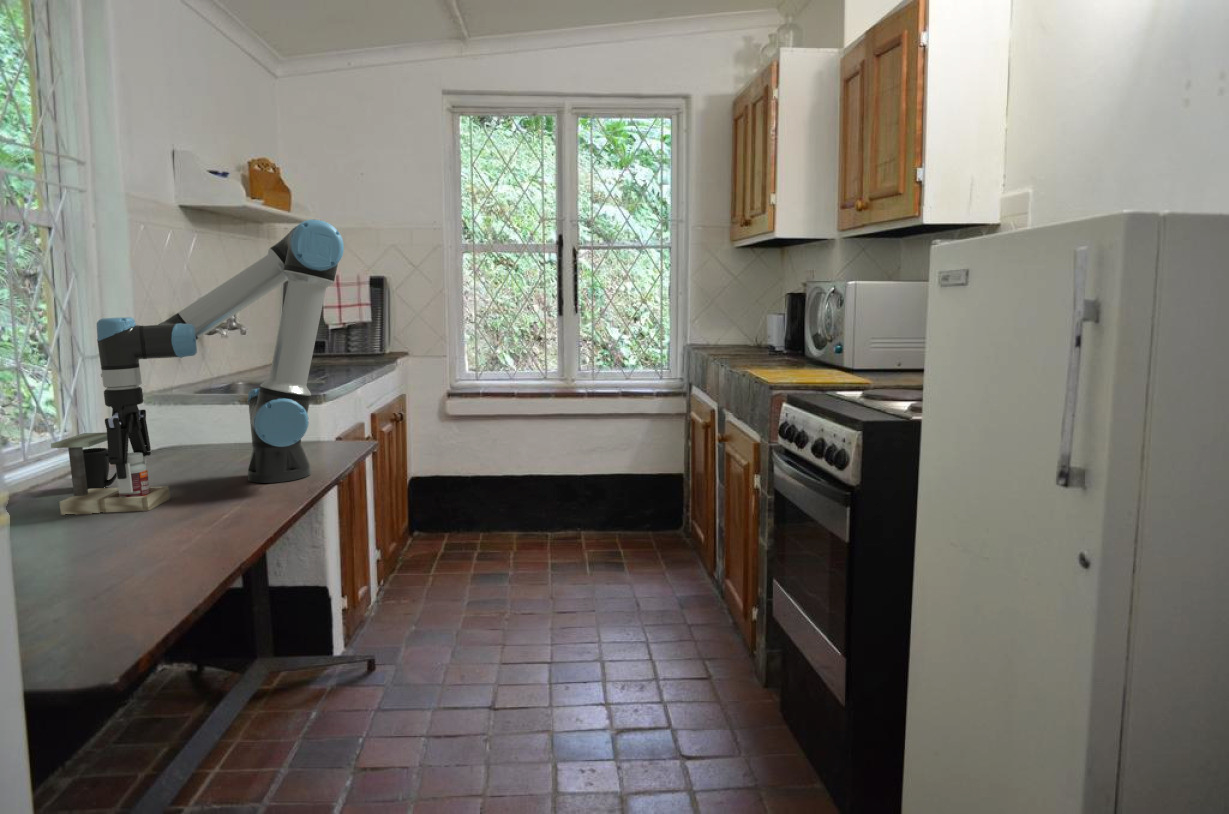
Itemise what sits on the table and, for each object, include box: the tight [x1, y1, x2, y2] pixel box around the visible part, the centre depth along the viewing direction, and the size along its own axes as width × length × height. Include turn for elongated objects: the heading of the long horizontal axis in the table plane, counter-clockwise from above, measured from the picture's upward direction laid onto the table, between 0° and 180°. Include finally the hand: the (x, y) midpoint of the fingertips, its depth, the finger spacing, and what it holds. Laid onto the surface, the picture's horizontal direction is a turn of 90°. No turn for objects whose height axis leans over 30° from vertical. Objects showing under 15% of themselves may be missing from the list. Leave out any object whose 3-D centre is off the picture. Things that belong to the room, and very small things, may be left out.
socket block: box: [50, 431, 171, 516], centre depth 199 cm, size 18×13×16 cm
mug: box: [83, 447, 117, 489], centre depth 218 cm, size 8×12×10 cm
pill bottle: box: [115, 452, 150, 497], centre depth 199 cm, size 6×6×11 cm
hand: (134, 488), depth 199 cm, fingers open, 7 cm apart
